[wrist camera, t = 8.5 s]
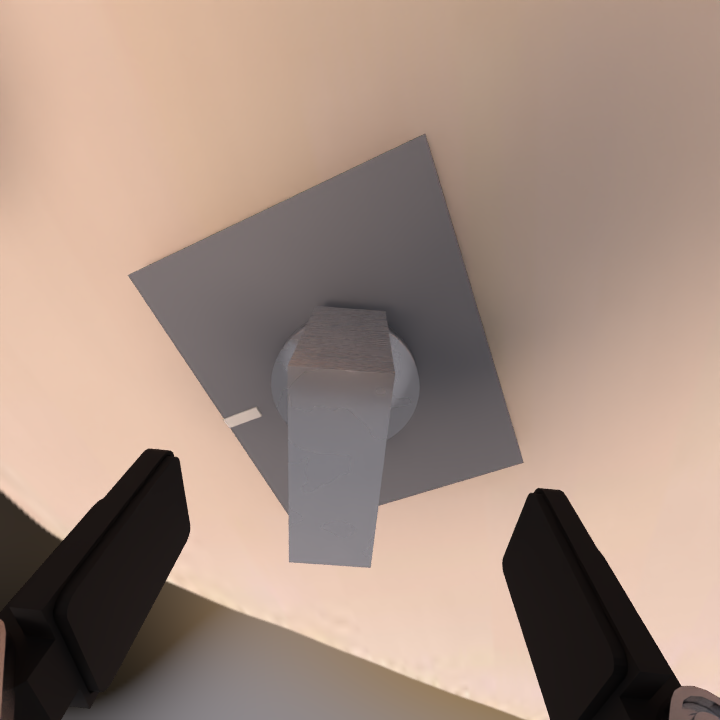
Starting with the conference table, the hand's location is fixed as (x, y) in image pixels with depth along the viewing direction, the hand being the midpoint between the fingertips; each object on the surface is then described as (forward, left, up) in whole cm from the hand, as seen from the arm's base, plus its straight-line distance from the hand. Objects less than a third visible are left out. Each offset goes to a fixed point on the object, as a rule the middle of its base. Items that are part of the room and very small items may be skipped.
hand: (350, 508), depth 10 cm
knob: (+1, +2, -9) cm, 9 cm away
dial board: (+1, 0, -11) cm, 10 cm away
